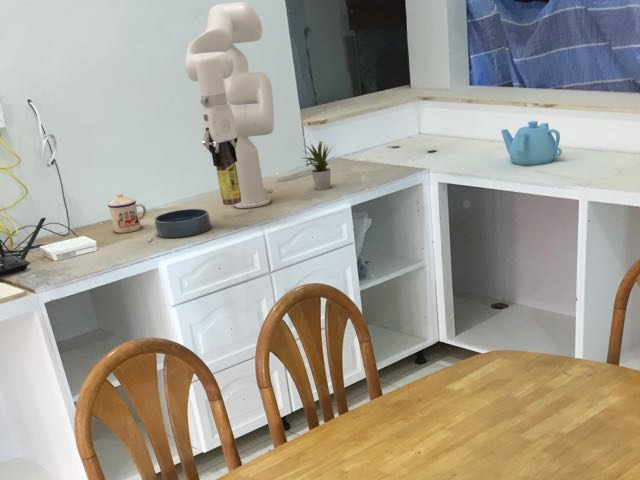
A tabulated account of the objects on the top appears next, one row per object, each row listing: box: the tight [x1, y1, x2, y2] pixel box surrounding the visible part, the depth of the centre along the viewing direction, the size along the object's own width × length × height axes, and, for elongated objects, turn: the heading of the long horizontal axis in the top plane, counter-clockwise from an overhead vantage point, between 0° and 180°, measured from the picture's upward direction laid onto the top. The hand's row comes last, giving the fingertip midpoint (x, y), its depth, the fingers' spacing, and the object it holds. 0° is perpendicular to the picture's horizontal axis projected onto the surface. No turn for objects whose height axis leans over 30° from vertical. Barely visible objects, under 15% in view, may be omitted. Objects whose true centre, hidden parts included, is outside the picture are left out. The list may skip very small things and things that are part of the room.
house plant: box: [302, 140, 335, 191], centre depth 338 cm, size 14×14×16 cm
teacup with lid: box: [107, 192, 147, 234], centre depth 309 cm, size 12×9×12 cm
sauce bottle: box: [215, 141, 241, 206], centre depth 293 cm, size 6×6×20 cm
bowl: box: [153, 208, 212, 238], centre depth 301 cm, size 17×17×5 cm
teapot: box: [500, 120, 563, 166], centre depth 346 cm, size 19×19×14 cm
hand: (225, 163), depth 292 cm, fingers closed on sauce bottle, 6 cm apart
